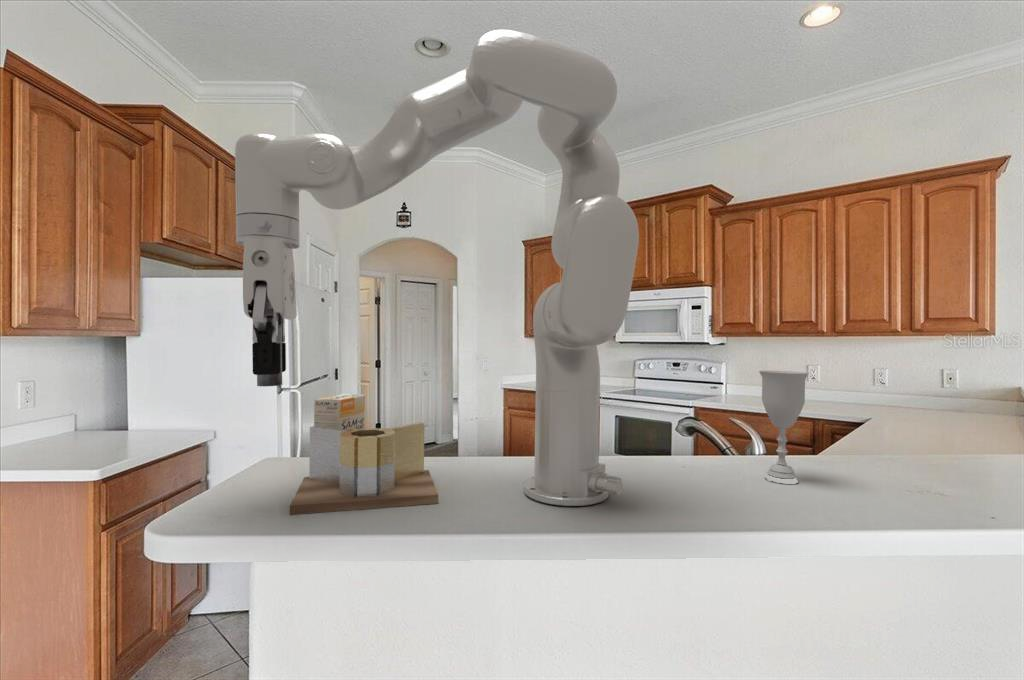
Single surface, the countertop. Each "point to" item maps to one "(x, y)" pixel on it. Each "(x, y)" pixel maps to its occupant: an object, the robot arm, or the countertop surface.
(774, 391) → the chalice
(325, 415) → the supplement box
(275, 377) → the hinge pin
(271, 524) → the countertop surface
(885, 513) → the countertop surface
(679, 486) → the countertop surface
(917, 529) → the countertop surface
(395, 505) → the walnut board
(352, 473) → the hinge
